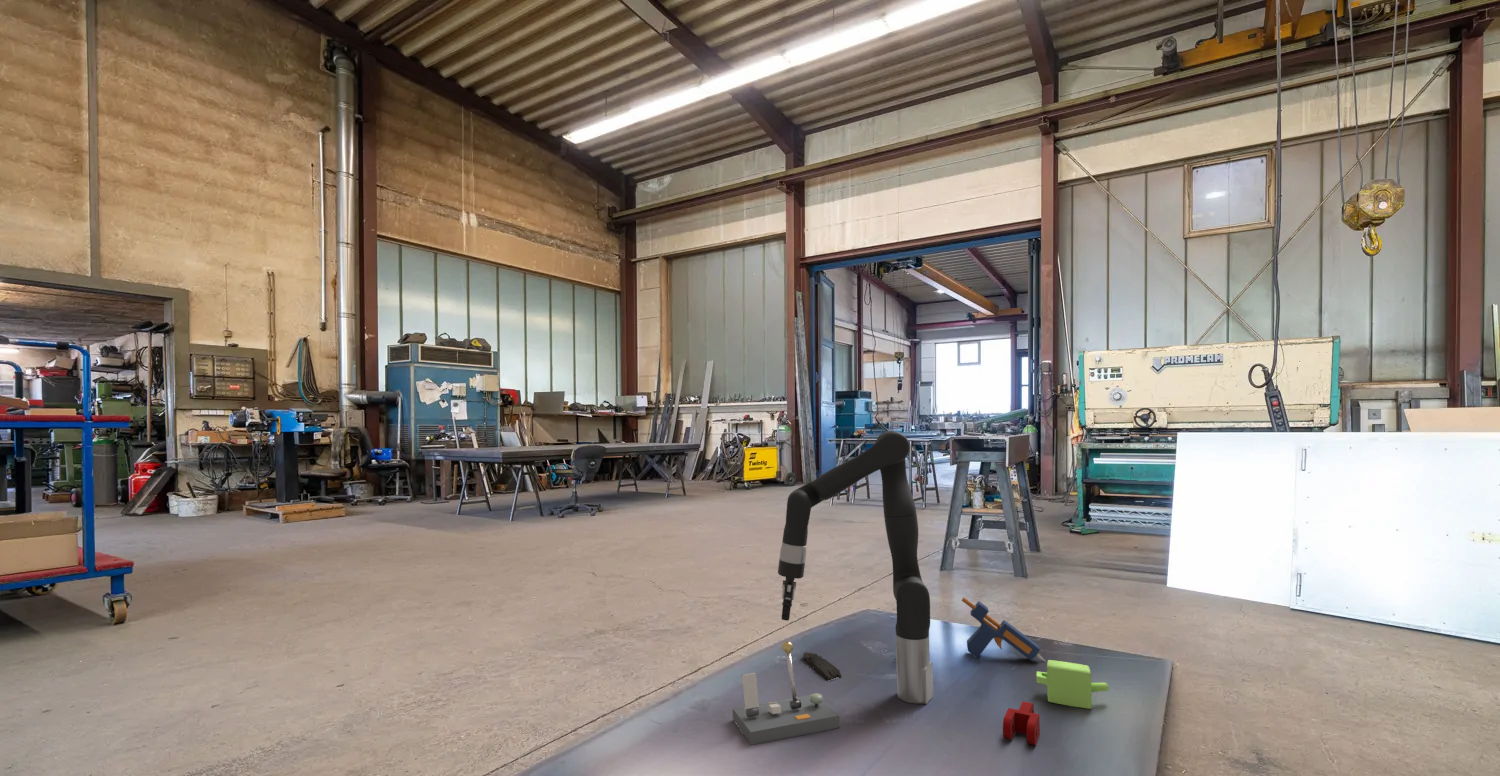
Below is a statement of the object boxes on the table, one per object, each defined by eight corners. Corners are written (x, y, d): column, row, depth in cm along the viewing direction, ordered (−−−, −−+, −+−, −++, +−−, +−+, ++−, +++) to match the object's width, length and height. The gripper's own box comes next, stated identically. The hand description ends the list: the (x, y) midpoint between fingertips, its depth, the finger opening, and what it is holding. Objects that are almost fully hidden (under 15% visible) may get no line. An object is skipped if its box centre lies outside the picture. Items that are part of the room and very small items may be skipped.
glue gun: (1023, 693, 205) (1051, 657, 203) (941, 632, 211) (968, 597, 209) (1019, 685, 211) (1047, 650, 209) (940, 626, 217) (966, 591, 215)
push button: (808, 704, 169) (808, 694, 169) (819, 702, 170) (819, 692, 170) (813, 709, 166) (813, 699, 166) (824, 707, 167) (824, 697, 167)
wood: (850, 680, 194) (850, 669, 194) (828, 683, 192) (827, 672, 192) (819, 656, 215) (819, 646, 215) (799, 658, 213) (799, 649, 213)
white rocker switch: (767, 710, 165) (767, 702, 166) (776, 709, 166) (775, 701, 166) (772, 714, 162) (772, 706, 162) (781, 712, 163) (780, 704, 163)
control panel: (732, 720, 167) (732, 707, 168) (815, 705, 176) (815, 693, 176) (751, 744, 154) (750, 731, 154) (839, 727, 162) (839, 714, 163)
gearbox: (1107, 700, 177) (1106, 665, 178) (1110, 713, 169) (1109, 676, 169) (1037, 688, 185) (1036, 655, 186) (1036, 700, 176) (1035, 664, 177)
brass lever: (788, 709, 167) (779, 642, 173) (799, 707, 168) (789, 640, 174) (793, 709, 164) (783, 641, 170) (803, 708, 165) (793, 640, 171)
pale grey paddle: (744, 717, 162) (741, 674, 165) (758, 714, 163) (754, 672, 166) (747, 718, 160) (743, 675, 163) (760, 715, 162) (756, 673, 165)
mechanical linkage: (1035, 749, 151) (1034, 727, 151) (1003, 741, 155) (1002, 720, 155) (1044, 722, 164) (1043, 702, 165) (1014, 715, 168) (1014, 696, 168)
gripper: (805, 566, 177) (798, 625, 177) (805, 556, 192) (798, 610, 191) (778, 562, 178) (771, 621, 177) (780, 552, 192) (773, 606, 191)
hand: (785, 615), depth 184 cm, fingers open, 8 cm apart
